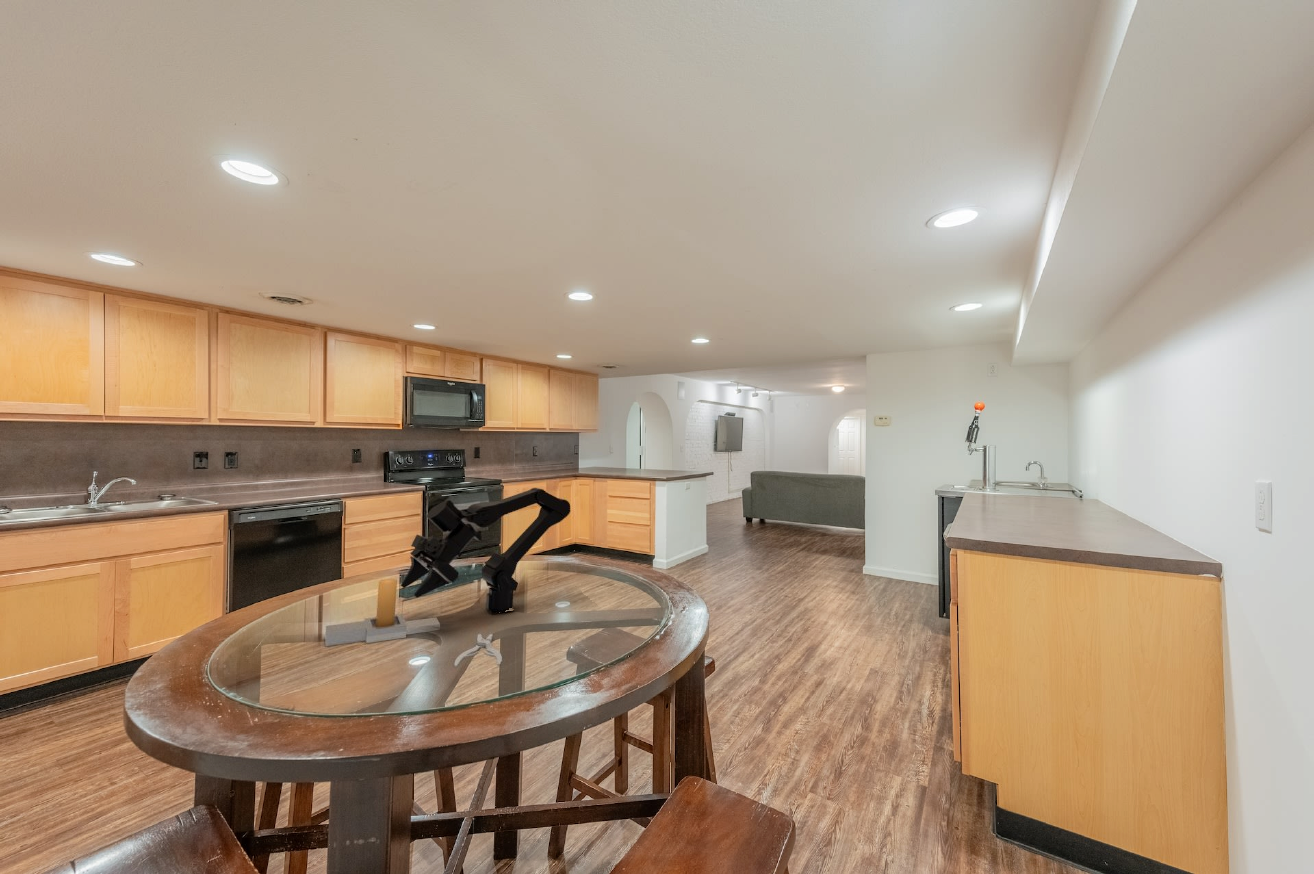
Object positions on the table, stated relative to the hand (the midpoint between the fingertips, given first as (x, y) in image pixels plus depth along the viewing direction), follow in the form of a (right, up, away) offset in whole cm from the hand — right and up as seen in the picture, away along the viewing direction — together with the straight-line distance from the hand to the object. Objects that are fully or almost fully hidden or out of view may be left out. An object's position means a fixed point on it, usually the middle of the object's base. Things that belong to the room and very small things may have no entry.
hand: (408, 591), depth 129 cm
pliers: (+22, -12, -10) cm, 27 cm away
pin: (-4, -9, -4) cm, 11 cm away
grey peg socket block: (-4, -9, -4) cm, 11 cm away
